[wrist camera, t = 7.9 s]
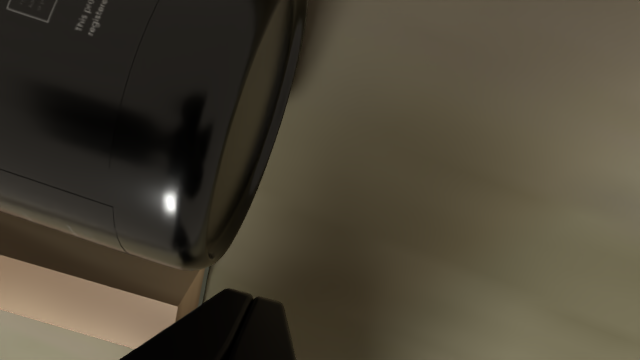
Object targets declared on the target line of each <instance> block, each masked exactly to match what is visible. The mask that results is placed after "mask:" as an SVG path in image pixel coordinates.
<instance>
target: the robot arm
mask: <svg viewBox="0 0 640 360" xmlns="http://www.w3.org/2000/svg"><path fill="white" fill-rule="evenodd" d="M120 360H296V357H295V353H294V349H293V344H292V340H291V336H290V331H289V327H288V323H287V319H286V314H285V310H284V307H283V305H282V303H280V302H278V301H274V300H270V299H267V298H263V297H256V298H255V299H254V300H253V296H252V295H251V294H248V293H244V292H241V291H237V290H233V289H224V290H223V291H221V292H220V293H218V294H217V295H215V296H214V297H212V298H211V299H209V300H208V301H206V302H205V303H203V304H202V305H200V306H199V307H197V308H196V309H194V310H193V311H191V312H190V313H188V314H187V315H185V316H184V317H182V318H181V319H179V320H178V321H176V322H175V323H173V324H172V325H170V326H169V327H167V328H166V329H164V330H163V331H161V332H160V333H158V334H157V335H155V336H154V337H152V338H151V339H149V340H148V341H146V342H145V343H143V344H142V345H140V346H139V347H137V348H136V349H135V350H133V351H132V352H130V353H129V354H127V355H126V356H124V357H123V358H121V359H120Z"/></svg>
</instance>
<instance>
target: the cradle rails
mask: <svg viewBox="0 0 640 360" xmlns="http://www.w3.org/2000/svg"><path fill="white" fill-rule="evenodd" d="M204 271H205V268H204V269H200V270H194V271H183V270H179V269H174V268H171V267H167V266H164V265H161V264H158V263H155V262H152V261H148V260H145V259H142V258H139V257H136V256H132V255H129V254H126V253H123V252H120V251H117V250H114V249H111V248H108V247H105V246H102V245H99V244H96V243H93V242H90V241H87V240H84V239H81V238H78V237H75V236H72V235H69V234H66V233H63V232H60V231H57V230H54V229H51V228H48V227H45V226H42V225H39V224H36V223H33V222H30V221H27V220H24V219H21V218H18V217H15V216H12V215H9V214H6V213H3V212H0V310H4V311H7V312H11V313H14V314H17V315H21V316H24V317H28V318H31V319H34V320H38V321H41V322H45V323H48V324H51V325H55V326H58V327H62V328H65V329H68V330H72V331H75V332H79V333H82V334H86V335H89V336H92V337H96V338H99V339H103V340H106V341H109V342H113V343H116V344H120V345H123V346H126V347H130V348H133V349H136V348H137V347H139V346H140V345H142V344H143V343H145V342H146V341H148V340H149V339H151V338H152V337H154V336H155V335H157V334H158V333H160V332H161V331H163V330H164V329H166V328H167V327H169V326H170V325H172V324H173V323H175V322H176V321H178V320H179V319H181V318H182V317H184V316H185V315H187V314H188V313H190V312H191V311H193V310H194V309H196V308H197V307H198V303H199V298H200V292H201V287H202V282H203V277H204Z"/></svg>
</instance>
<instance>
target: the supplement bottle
mask: <svg viewBox="0 0 640 360" xmlns="http://www.w3.org/2000/svg"><path fill="white" fill-rule="evenodd" d="M307 9H308V0H0V212H3V213H6V214H9V215H12V216H15V217H18V218H21V219H24V220H27V221H30V222H33V223H36V224H39V225H42V226H45V227H48V228H51V229H54V230H57V231H60V232H63V233H66V234H69V235H72V236H75V237H78V238H81V239H84V240H87V241H90V242H93V243H96V244H99V245H102V246H105V247H108V248H111V249H114V250H117V251H120V252H123V253H126V254H129V255H132V256H136V257H139V258H142V259H145V260H148V261H152V262H155V263H158V264H161V265H164V266H167V267H171V268H174V269H179V270H183V271H194V270H200V269H204V268H207V267H209V266H211V265H213V264H215V263H216V262H217V261H218V260H219V259H220V258H221V257H222V256H223V255H224V254H225V252H226V251H227V250H228V248H229V247H230V245H231V243H232V242H233V240H234V238H235V236H236V235H237V233H238V231H239V229H240V227H241V225H242V223H243V221H244V219H245V217H246V214H247V212H248V210H249V208H250V206H251V203H252V201H253V199H254V196H255V194H256V191H257V189H258V186H259V184H260V181H261V179H262V176H263V174H264V171H265V168H266V166H267V163H268V160H269V157H270V154H271V152H272V149H273V146H274V143H275V140H276V137H277V134H278V131H279V128H280V125H281V121H282V118H283V115H284V112H285V108H286V105H287V101H288V98H289V94H290V91H291V87H292V83H293V79H294V76H295V72H296V68H297V63H298V59H299V55H300V50H301V46H302V41H303V35H304V30H305V24H306V17H307Z"/></svg>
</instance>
